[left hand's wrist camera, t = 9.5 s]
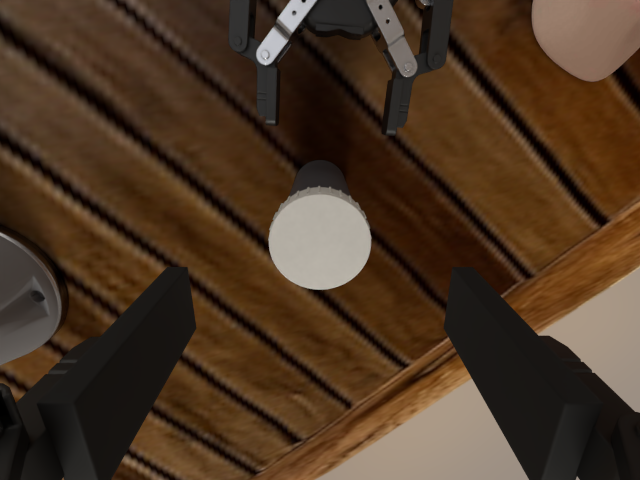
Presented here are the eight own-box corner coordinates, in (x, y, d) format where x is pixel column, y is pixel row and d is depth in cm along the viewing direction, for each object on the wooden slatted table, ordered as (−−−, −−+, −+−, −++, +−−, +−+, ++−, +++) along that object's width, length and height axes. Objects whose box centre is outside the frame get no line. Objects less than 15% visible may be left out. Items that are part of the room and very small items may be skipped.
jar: (289, 203, 34) (268, 269, 20) (301, 154, 33) (286, 188, 18) (337, 215, 35) (349, 289, 21) (351, 167, 33) (375, 211, 19)
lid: (263, 264, 22) (257, 278, 20) (283, 174, 20) (279, 180, 18) (352, 285, 22) (355, 300, 20) (380, 199, 20) (386, 207, 18)
